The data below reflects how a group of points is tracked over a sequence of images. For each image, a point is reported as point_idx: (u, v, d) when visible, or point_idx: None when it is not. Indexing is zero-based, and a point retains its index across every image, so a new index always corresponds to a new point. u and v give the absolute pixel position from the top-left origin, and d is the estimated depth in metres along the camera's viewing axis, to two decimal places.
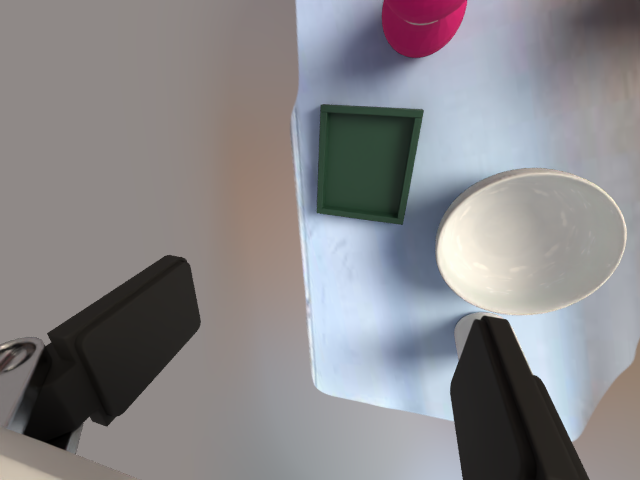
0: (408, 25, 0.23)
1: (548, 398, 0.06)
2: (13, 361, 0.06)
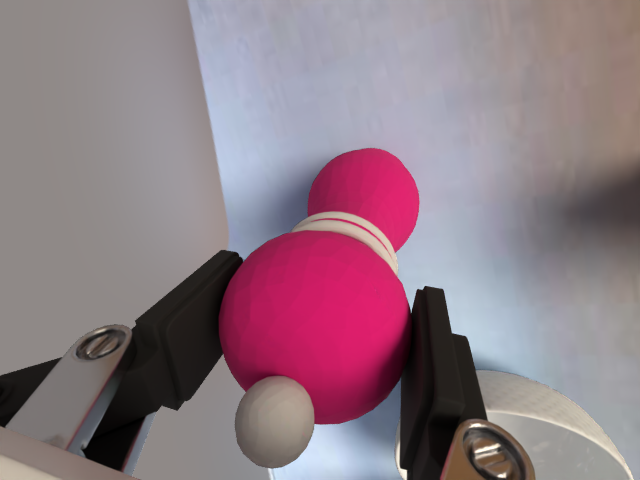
0: None
1: (469, 352, 0.08)
2: (108, 346, 0.07)
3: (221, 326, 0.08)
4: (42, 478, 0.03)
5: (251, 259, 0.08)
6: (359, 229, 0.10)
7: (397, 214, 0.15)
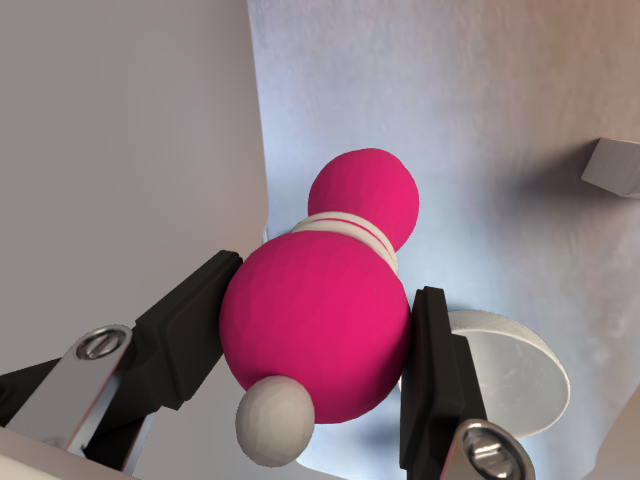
0: None
1: (469, 352, 0.08)
2: (108, 346, 0.07)
3: (221, 326, 0.08)
4: (42, 478, 0.03)
5: (251, 259, 0.08)
6: (359, 229, 0.10)
7: (397, 214, 0.15)
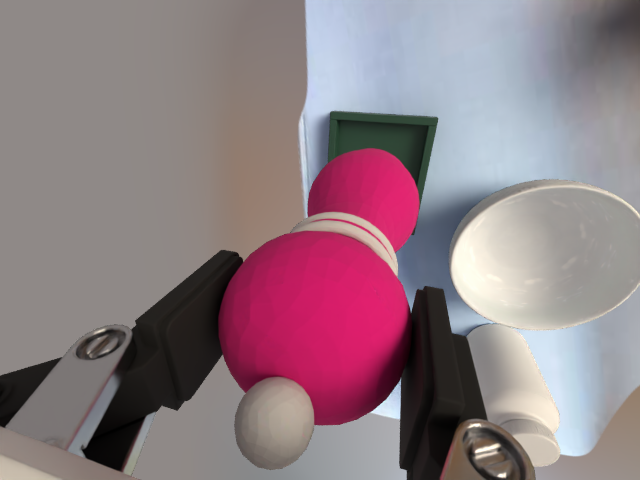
0: None
1: (469, 352, 0.08)
2: (108, 346, 0.07)
3: (221, 327, 0.08)
4: (42, 478, 0.03)
5: (251, 260, 0.08)
6: (359, 229, 0.10)
7: (397, 215, 0.15)
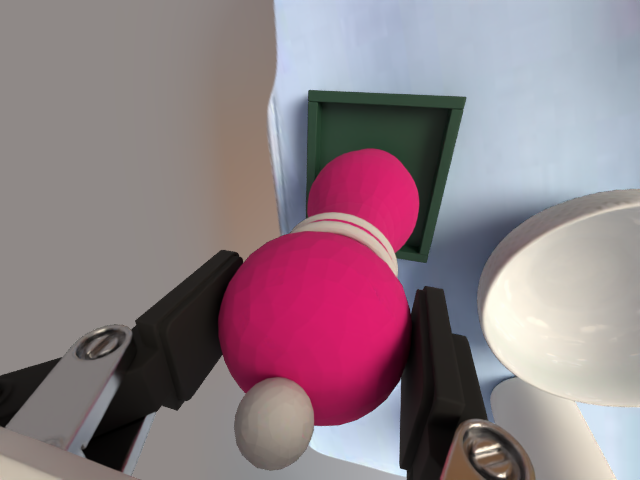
0: None
1: (469, 352, 0.08)
2: (108, 346, 0.07)
3: (220, 327, 0.08)
4: (42, 478, 0.03)
5: (251, 260, 0.08)
6: (359, 230, 0.10)
7: (397, 215, 0.15)
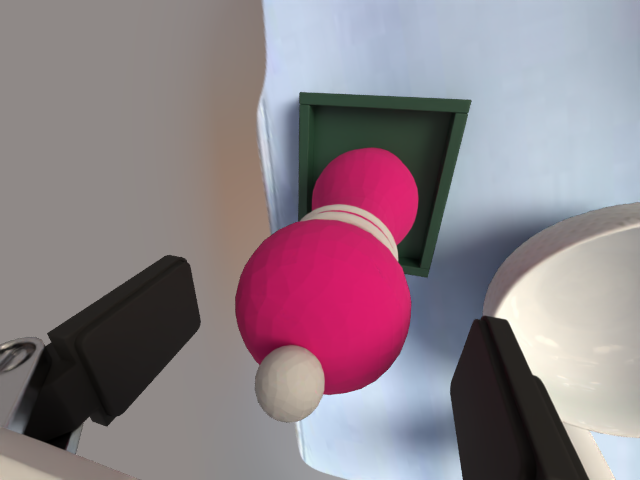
0: None
1: (548, 398, 0.06)
2: (13, 361, 0.06)
3: (239, 304, 0.09)
4: (42, 478, 0.03)
5: (266, 244, 0.09)
6: (362, 220, 0.11)
7: (397, 209, 0.16)
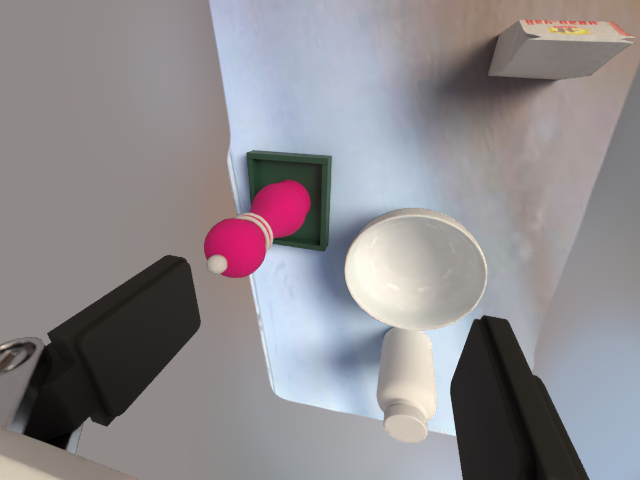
0: None
1: (548, 398, 0.06)
2: (13, 361, 0.06)
3: (204, 246, 0.28)
4: (42, 478, 0.03)
5: (213, 227, 0.28)
6: (253, 218, 0.30)
7: (285, 213, 0.35)
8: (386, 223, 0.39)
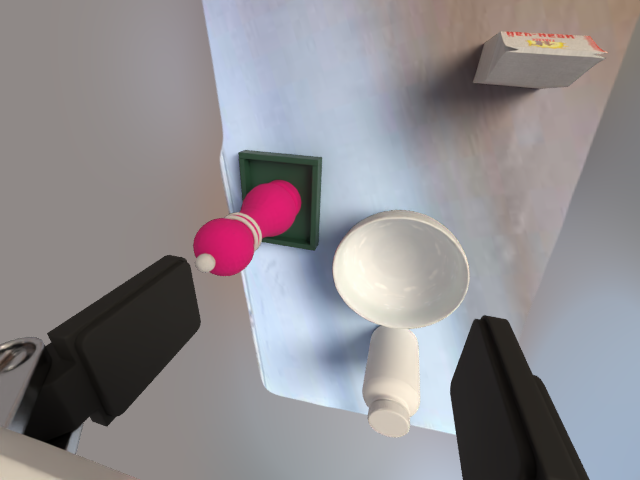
0: None
1: (548, 398, 0.06)
2: (13, 361, 0.06)
3: (193, 245, 0.28)
4: (42, 478, 0.03)
5: (202, 226, 0.29)
6: (242, 218, 0.31)
7: (274, 213, 0.36)
8: (374, 224, 0.40)
